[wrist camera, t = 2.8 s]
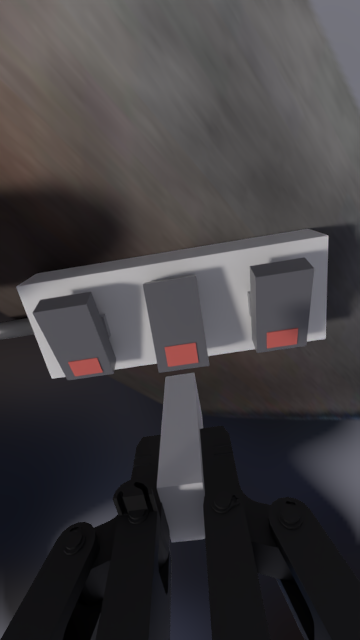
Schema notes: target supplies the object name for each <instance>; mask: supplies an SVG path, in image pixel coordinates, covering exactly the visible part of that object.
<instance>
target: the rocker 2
mask: <svg viewBox="0 0 360 640" xmlns="http://www.w3.org/2000/svg"><path fill="white" fill-rule="evenodd" d="M143 289H144V295H145V300H146V306H147V311H148V316H149V322H150V327H151V333H152V338H153V344H154V349H155V354H156V360H157V365H158V371H159V373H161V372H168V371H175V370H182V369H189V368H196V367H203V366H209V359H208V352H207V346H206V339H205V332H204V326H203V319H202V312H201V305H200V299H199V292H198V285H197V279H196V274H195V275H189V276H182V277H176V278H170V279H164V280H158V281H151V282H146V283H144V284H143Z"/></svg>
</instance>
